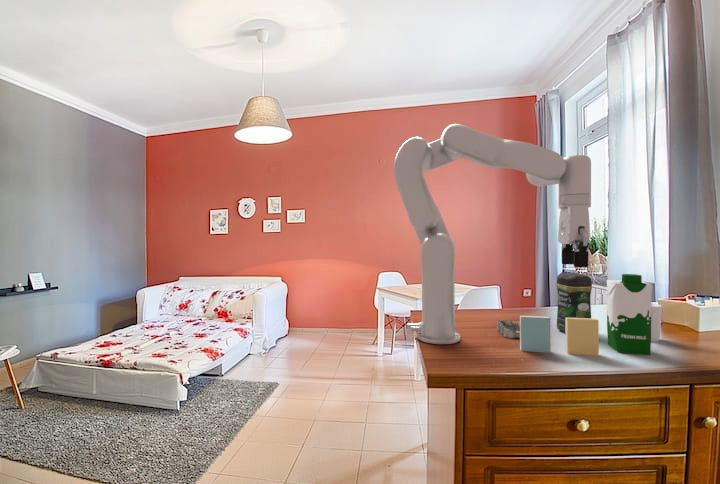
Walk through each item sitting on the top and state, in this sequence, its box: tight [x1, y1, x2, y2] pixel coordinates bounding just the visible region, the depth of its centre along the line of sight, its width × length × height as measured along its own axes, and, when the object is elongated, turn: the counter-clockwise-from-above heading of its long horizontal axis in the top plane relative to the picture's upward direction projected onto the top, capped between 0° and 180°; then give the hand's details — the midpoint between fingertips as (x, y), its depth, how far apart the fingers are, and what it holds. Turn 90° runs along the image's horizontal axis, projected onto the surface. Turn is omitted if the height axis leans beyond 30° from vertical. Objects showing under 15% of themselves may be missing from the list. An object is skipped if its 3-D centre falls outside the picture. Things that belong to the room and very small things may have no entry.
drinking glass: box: [651, 302, 663, 343], centre depth 101 cm, size 7×7×10 cm
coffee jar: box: [556, 272, 593, 333], centre depth 108 cm, size 10×8×19 cm
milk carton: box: [606, 273, 653, 356], centre depth 91 cm, size 9×9×20 cm
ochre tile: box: [564, 317, 600, 356], centre depth 89 cm, size 7×2×9 cm, turn 76°
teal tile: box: [519, 315, 552, 354], centre depth 91 cm, size 7×2×9 cm, turn 76°
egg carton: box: [496, 319, 520, 339], centre depth 107 cm, size 10×7×4 cm
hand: (574, 265), depth 94 cm, fingers open, 9 cm apart
